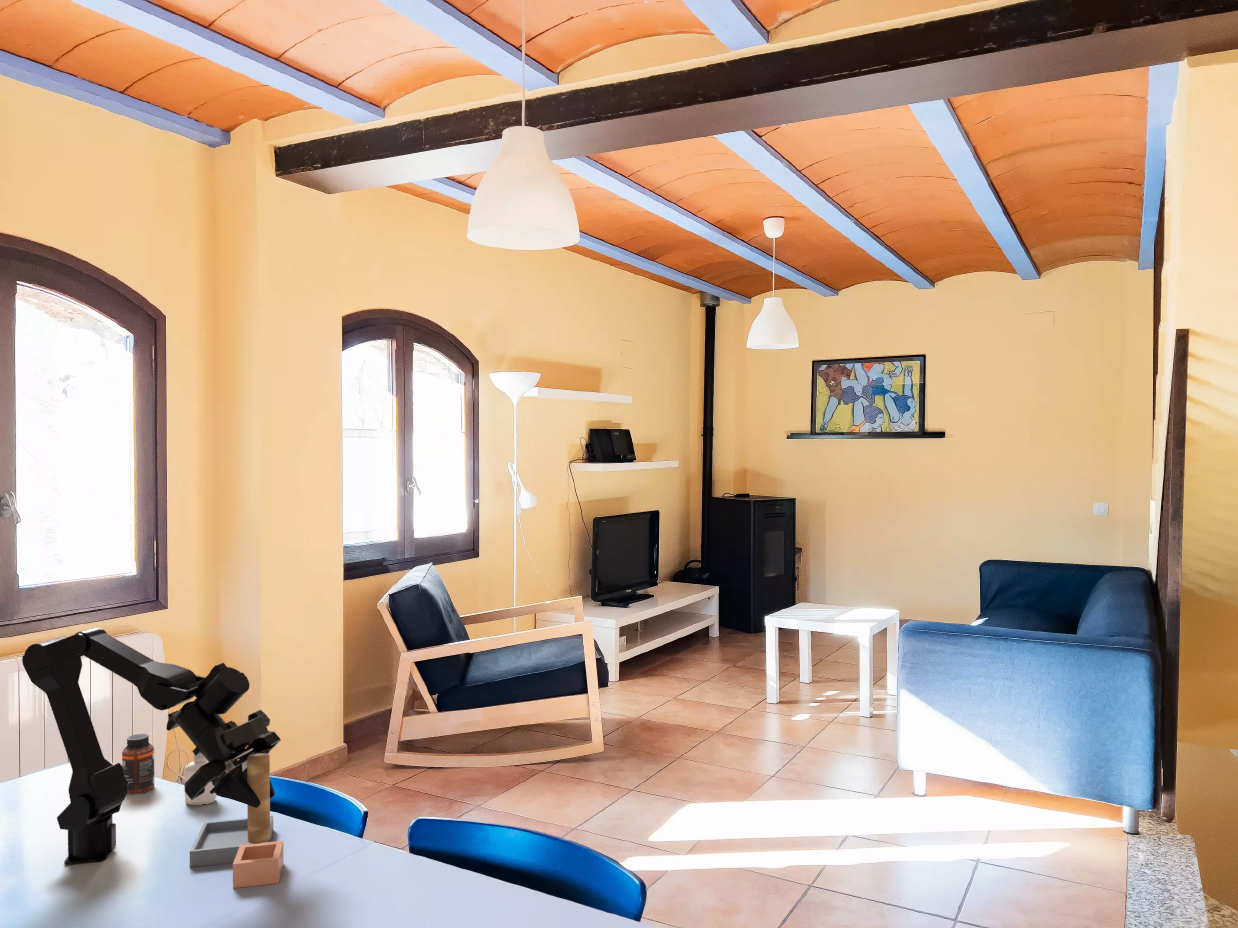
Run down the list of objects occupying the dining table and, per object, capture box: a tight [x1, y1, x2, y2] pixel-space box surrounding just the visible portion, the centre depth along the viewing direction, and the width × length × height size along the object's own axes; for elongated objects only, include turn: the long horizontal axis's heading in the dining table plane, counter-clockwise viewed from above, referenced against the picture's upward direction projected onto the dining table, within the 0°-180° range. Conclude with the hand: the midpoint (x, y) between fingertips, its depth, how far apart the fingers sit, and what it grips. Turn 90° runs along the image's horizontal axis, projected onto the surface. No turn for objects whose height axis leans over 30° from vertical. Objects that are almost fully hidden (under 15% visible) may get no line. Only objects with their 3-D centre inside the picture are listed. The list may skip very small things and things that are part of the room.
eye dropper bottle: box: [184, 753, 217, 806], centre depth 179 cm, size 4×6×12 cm
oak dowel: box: [246, 753, 271, 844], centre depth 148 cm, size 4×4×14 cm
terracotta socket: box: [232, 840, 285, 889], centre depth 149 cm, size 7×7×4 cm
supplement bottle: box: [121, 733, 156, 795], centre depth 185 cm, size 6×6×11 cm
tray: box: [189, 815, 274, 868], centre depth 159 cm, size 12×12×3 cm
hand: (265, 801), depth 148 cm, fingers closed on oak dowel, 3 cm apart
